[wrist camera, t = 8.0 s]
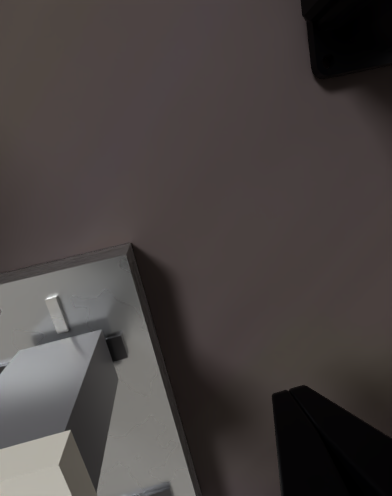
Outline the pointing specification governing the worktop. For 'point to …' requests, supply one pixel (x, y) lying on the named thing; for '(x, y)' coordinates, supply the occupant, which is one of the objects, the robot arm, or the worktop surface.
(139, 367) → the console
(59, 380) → the cream fader
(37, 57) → the worktop surface
